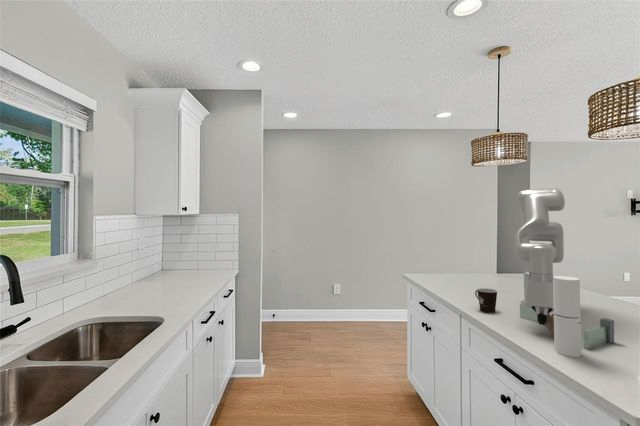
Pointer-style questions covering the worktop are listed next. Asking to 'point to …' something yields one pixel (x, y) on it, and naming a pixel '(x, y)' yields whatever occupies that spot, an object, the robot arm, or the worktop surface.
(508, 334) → the worktop surface
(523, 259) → the robot arm
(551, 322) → the gate
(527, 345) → the worktop surface
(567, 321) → the cylindrical container
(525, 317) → the hinge post
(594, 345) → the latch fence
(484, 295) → the coffee mug
